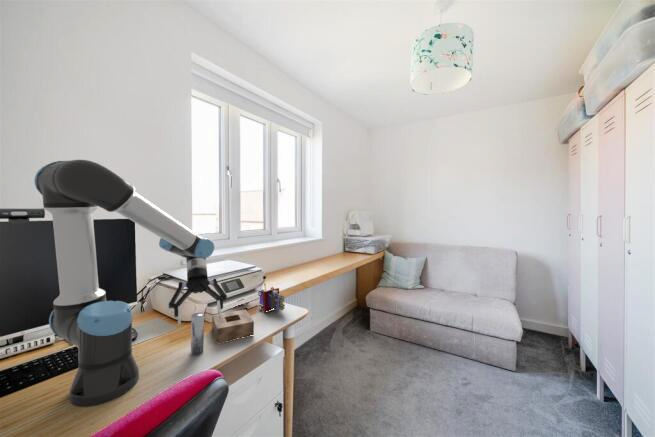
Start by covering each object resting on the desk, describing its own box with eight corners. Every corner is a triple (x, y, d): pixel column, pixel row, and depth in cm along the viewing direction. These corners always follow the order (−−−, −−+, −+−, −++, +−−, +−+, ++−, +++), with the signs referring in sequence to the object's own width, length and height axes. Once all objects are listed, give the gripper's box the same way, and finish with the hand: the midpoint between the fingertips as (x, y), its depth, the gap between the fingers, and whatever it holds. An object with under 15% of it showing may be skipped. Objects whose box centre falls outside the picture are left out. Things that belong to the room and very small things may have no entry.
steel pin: (191, 357, 90) (191, 317, 90) (190, 351, 94) (191, 313, 93) (203, 354, 92) (204, 315, 92) (202, 348, 96) (203, 311, 95)
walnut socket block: (216, 344, 99) (217, 328, 99) (212, 328, 111) (212, 315, 111) (253, 335, 106) (253, 321, 106) (245, 322, 118) (245, 309, 118)
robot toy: (267, 304, 143) (291, 312, 130) (252, 309, 136) (277, 317, 123) (266, 273, 143) (290, 277, 130) (251, 276, 136) (275, 281, 123)
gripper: (227, 273, 117) (233, 318, 105) (161, 279, 104) (160, 332, 92) (229, 264, 112) (236, 310, 100) (161, 269, 99) (160, 323, 87)
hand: (200, 321), depth 96 cm, fingers open, 13 cm apart
